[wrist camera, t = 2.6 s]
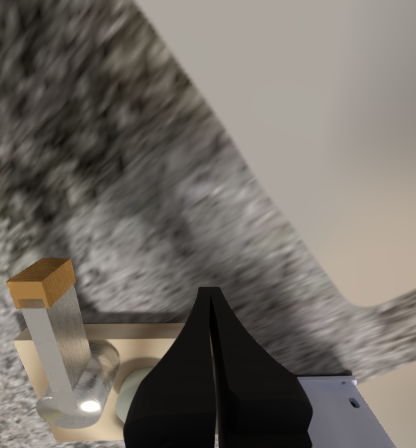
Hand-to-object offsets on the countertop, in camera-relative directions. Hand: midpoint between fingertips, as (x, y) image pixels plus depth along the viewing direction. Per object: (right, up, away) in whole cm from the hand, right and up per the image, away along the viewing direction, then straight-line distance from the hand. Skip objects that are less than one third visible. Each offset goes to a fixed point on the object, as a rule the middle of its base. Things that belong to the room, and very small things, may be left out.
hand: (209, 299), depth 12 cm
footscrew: (-9, -2, +2) cm, 10 cm away
